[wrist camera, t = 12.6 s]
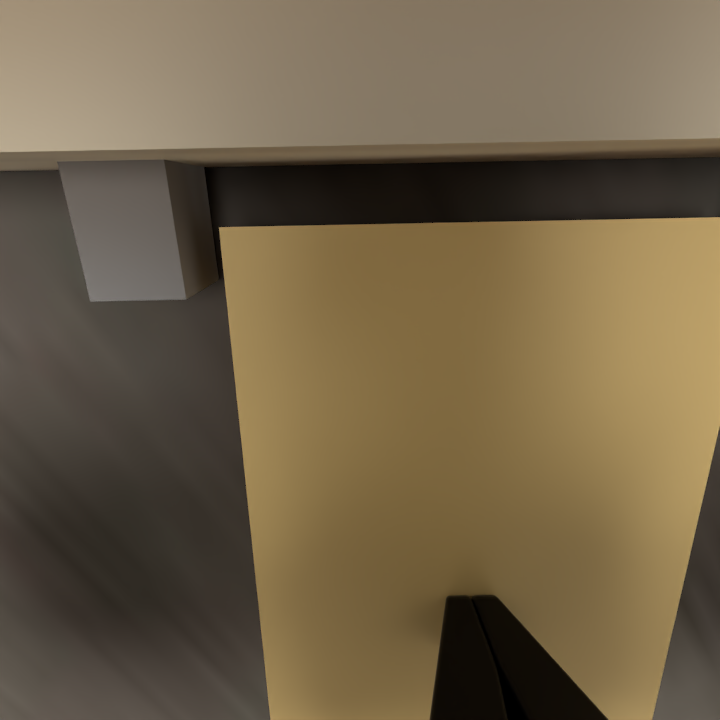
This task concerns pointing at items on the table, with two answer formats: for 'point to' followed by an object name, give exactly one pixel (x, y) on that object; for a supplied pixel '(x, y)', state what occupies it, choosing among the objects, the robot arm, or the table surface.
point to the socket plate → (326, 101)
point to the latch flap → (471, 445)
